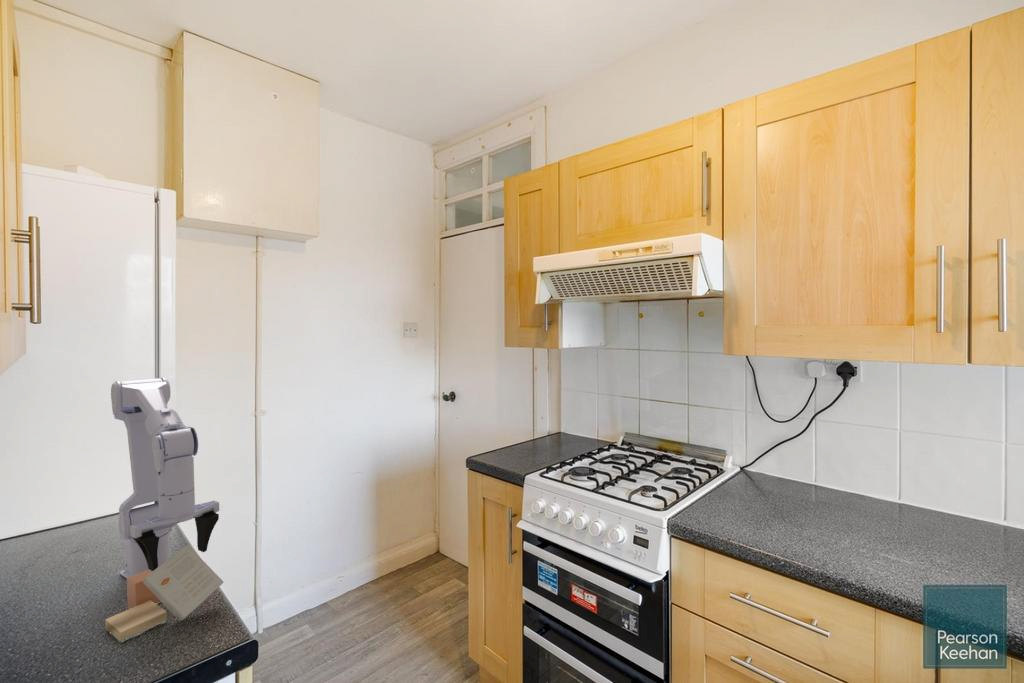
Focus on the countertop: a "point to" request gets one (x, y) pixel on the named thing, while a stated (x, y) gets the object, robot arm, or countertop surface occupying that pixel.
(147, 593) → the block
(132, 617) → the base slab
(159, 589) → the small box
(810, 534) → the countertop surface
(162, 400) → the robot arm
